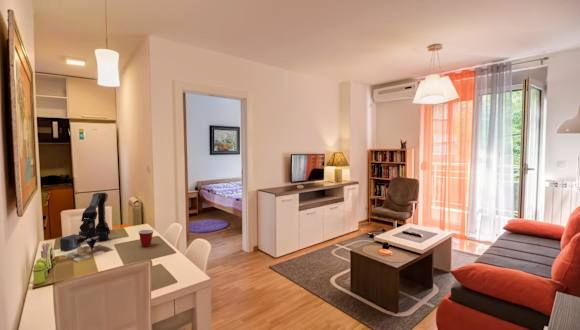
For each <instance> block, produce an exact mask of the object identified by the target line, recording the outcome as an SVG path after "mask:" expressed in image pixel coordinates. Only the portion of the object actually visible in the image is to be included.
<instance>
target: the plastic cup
mask: <svg viewBox="0 0 580 330" xmlns="http://www.w3.org/2000/svg"><path fill="white" fill-rule="evenodd" d="M154 232H155V230H154V229H141V230H138V235H139V240H140V243H141V247H142V248H149V247H151V245H152V240H153V234H154Z"/></svg>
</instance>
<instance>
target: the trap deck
mask: <svg viewBox="0 0 580 330" xmlns="http://www.w3.org/2000/svg"><path fill="white" fill-rule="evenodd" d="M114 250H115V249H113V248H110V247H108V246H105V245H102V244H97V245H94V247H93V249H91V253H90V254H86V255H83V256H80V255H78V254H77V250H75V251H72V252H68V253H65V254H63V257H64V258H65V257H66V259H67V258H68V259H67V260H69V259H70V261H71V262H72V261H73V262H74V263H76V264H78V263H79V262H78V261H81V260H85V259H89V258H92V257H95V256H96V253H98V252H101V253H98V254H97V256H99V255H102V254H105V253H108V252H111V251H114ZM92 254H95V255H92Z"/></svg>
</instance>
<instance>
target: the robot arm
mask: <svg viewBox="0 0 580 330" xmlns="http://www.w3.org/2000/svg"><path fill="white" fill-rule="evenodd" d="M108 197H109V195H108V193H106V192H95V193H93V194H92V199H91V201H90V203H89V206H88V207H86V208H85V209H84V210H83V213H82V216H81V219H80V222H82V224H81V225H80V226H79V231H78V235H79V236H80V237H79V238H75V239H74V243H77V244H80V243H81V244H83V243H86V244H87V246H88V247H91V250H92V249H94V248H93V247H94V246H96V243H97V242H105V241H108V240H109V235H110V234H111V228H110V227H109V224H108V222H107V221H106V202H107V201H108ZM96 219H97V220H98V221H97V222H98V223H97V224H96Z"/></svg>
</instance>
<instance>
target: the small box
mask: <svg viewBox="0 0 580 330" xmlns="http://www.w3.org/2000/svg"><path fill="white" fill-rule="evenodd" d="M79 237H81V236H79V234H75V233H74V234H70V235H67V236H64V237H61V238H60V240H59V242H60V244H59V247H60V251H61V252H70V251H72V250H75V249H76V250H77V248H81V244H82V243H80V244H77V243H74V239H75V238H79Z"/></svg>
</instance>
